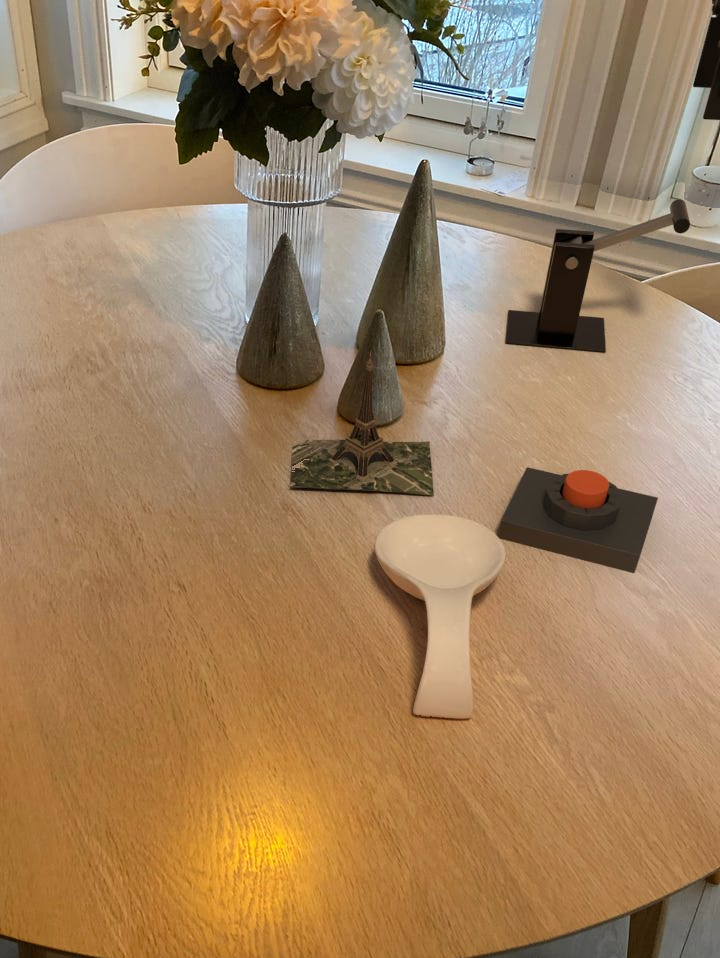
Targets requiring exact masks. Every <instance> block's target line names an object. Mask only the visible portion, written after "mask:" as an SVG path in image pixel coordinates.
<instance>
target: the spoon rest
mask: <svg viewBox="0 0 720 958" xmlns="http://www.w3.org/2000/svg"><path fill="white" fill-rule="evenodd" d="M374 553H375V555H376V559H377V561H378V563H379V565H380V567H381V568H382V571H384V573H385V574H386V575H387V577H388V578H389V579H390V580H391V581H392V582H393V583H394V584H395V585H396V586H397V587H398V588H400V589H401V590H403V591H404V592H406V593H407V594H409V595H411V596H412V597H414V598H416V599H418V600H420V601H422V602H424V604H425V608H426V619H427V642H426V653H425V659H424V664H423V670H422V675H421V677H420V681H419V685H418V688H417V691H416V695H415V699H414V703H413V706H412V707H413V708H412V713H413V714H414V715H416V716H419V715H421V716H420V717H430V716H432V717H431V718H433V717H434V718H443V717H444V718H445V719H457V720H458V719H459V720H462V719H471V718H472V717H473V716H474V690H473V688H474V687H473V678H472V665H471V644H470V639H471V638H470V636H471V614H472V613H471V611H472V601H473V597H474V596H476V595H477V594H479V593H481V592H482V591H484V590H485V589H486V588H488V587H489V586H490V585H491V584H492V583H493V582H494V581H495V580H496V579H497V578H498V576H499V575H500V574H501V573H502V571H503V569H504V567H505V565H506V564H505V563H506V559H507V553H506V547H505V545H504V543H503V541H502V539H499V538H498V534H496V533H495V532H494V531H493V530H491V529H490V528H488V527H487V526H485V525H483V524H481V523H479V522H477V521H475V520H472V519H470V518H466V517H462V516H456V515H452V514H441V513H436V514H435V513H422V514H414V515H408V516H404V517H401V518H398V519H395V520H393V521H391V522H390V523H388V524H387V525H385V526H384V527H383V528H382V529H381V530H380V531H379V533H378V534H377V536H376V538H375V541H374Z"/></svg>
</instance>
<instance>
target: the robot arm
mask: <svg viewBox="0 0 720 958" xmlns="http://www.w3.org/2000/svg"><path fill="white" fill-rule="evenodd" d="M711 5H712V6H711V15H712V16H710V19H709V23H708V26H707V31H706V34H705V38H704V42H703V44H702V45H703V46H702V49H701V53H700V56H699V60H698V65H697V68H696V71H695V75H694V78H693V79H694V80H693V83H692V87H693V88H702V89H703V88H705V89H709V94H708V96H707V97H708V98H707V101H706V105H705V107H704V112H703V115H702V119H703V120H707V121H720V0H711Z"/></svg>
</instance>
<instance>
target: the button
mask: <svg viewBox="0 0 720 958" xmlns="http://www.w3.org/2000/svg"><path fill="white" fill-rule="evenodd" d="M567 474H568V476H567V477H566V480H565V484H564V488H563V492H562V495H563V498H564V499H565V500H566V501H567V502H569V503H570V504H572V505H575V506H580V507H584V508H596V507H600V506H601V505H603V503H604V502H605V499H606V496H607V492H608V489H609V482H610V481H609V480H608V478H607V477H606V476H604V475H603V474H601V473H599V472H597V471H593V470H588V469H578V470H574V471H571V472H570V473H567ZM608 481H609V482H608Z"/></svg>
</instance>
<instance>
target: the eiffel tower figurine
mask: <svg viewBox="0 0 720 958" xmlns="http://www.w3.org/2000/svg"><path fill="white" fill-rule="evenodd" d="M371 355H372V350H370V352H369V359H368V361H366V362H365V367H366V370H365V378H364V383H363V384H364V385H363V391H362V397H361V403H360V408H359V411H358V416H357V417H356V418H355V424H354V426H353V428H352V431H351V432H350V434H349V435H348V436H345V439H294V440H293V442H292V447H291V460H290V461H291V464H290V467H291V466H294V465H296V464H298V463H299V462H301V461H303V460H304V459H309V460H304V461H303V462H302V463H303V464H300V468H295V470H292V471H295V472H291V471H290V486H289V487H290V488H306V489H316V490H317V489H318V490H334V491H335V490H343V491H344V490H345V491H368V492H384V493H385V492H388V493H398V494H399V493H401V494H411V495H419V496H420V495H421V496H434V495H435V492H434V481H433V465H432V455H431V444H430V441H429V440H428V441H384V438H383V437H381V436H380V435H379V433H378V430H377V426H376V418H374V407H373V367H374V361H373V360H372V359H371V357H372V356H371ZM293 469H294V468H293Z"/></svg>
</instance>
